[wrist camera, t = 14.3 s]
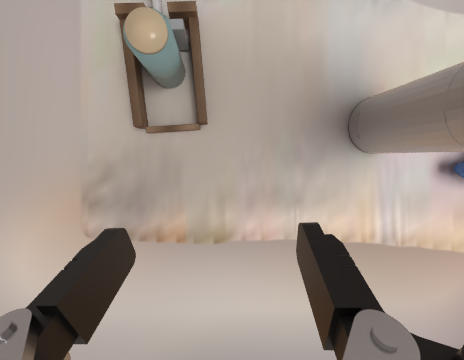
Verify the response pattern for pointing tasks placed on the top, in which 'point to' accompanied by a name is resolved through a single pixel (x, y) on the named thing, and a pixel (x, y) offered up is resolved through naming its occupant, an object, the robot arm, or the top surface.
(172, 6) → the brown rectangular open frame
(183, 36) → the pusher
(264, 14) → the top surface
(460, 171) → the grapes
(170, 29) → the jar
